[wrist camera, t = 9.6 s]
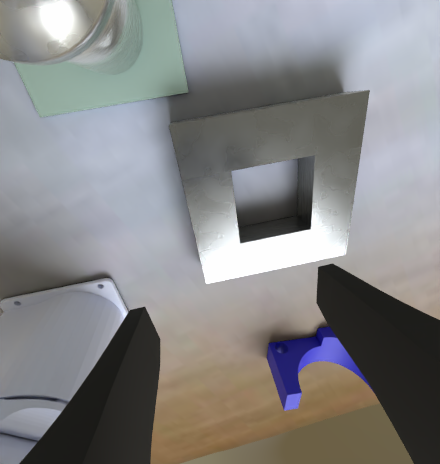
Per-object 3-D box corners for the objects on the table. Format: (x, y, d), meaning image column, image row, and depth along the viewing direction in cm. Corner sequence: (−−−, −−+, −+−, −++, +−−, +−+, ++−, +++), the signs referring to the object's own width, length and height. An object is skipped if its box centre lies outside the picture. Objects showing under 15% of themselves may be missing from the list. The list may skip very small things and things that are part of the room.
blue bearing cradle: (362, 320, 29) (402, 368, 24) (353, 344, 31) (387, 392, 26) (269, 333, 28) (289, 386, 22) (266, 356, 30) (284, 410, 25)
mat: (43, 117, 14) (40, 117, 14) (-67, -118, 10) (-76, -126, 10) (188, 92, 15) (188, 92, 14) (144, -143, 10) (143, -151, 10)
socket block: (203, 265, 21) (206, 283, 19) (170, 122, 15) (168, 125, 13) (329, 239, 22) (345, 254, 20) (344, 92, 16) (369, 90, 14)
